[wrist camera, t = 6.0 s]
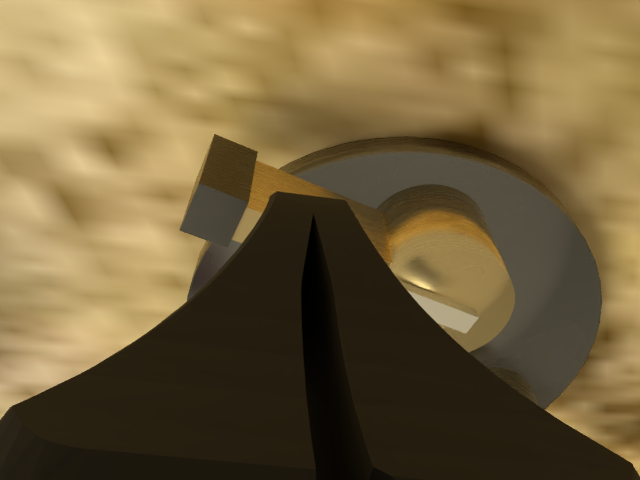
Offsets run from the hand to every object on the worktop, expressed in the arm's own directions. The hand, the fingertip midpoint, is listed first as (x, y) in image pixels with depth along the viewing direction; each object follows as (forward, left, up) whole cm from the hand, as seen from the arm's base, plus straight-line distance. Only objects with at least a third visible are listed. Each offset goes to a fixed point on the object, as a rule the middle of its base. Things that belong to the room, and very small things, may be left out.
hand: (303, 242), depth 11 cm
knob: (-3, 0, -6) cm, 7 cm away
